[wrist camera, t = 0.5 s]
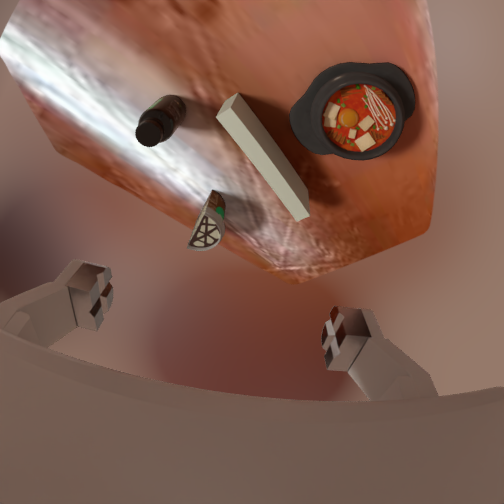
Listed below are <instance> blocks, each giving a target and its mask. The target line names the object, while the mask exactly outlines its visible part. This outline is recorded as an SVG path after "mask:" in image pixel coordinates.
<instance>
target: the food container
mask: <svg viewBox="0 0 504 504" xmlns="http://www.w3.org/2000/svg"><path fill="white" fill-rule="evenodd" d="M224 213H225V202H224V199H223V198H222V196H221V195H220V194H219V193H217V192H216V191H214V190H212V191H211V193H210V195H209V197H208V199H207V200H206V202H205V204H204V206H203V208H202V210H201V212H200V214H199V216H198V218H197V221H196V224H195V226H194V229H193V232H192V235H191V238H190V240H189V243H188V246H187V248H188V249H191V250H196V251H205V250H209V249H211V248H213V247H215V246H216V245H217V244H218V243H219V242H220V241H221V239H222V237H223V236H224V233H225V225H224V222H223V220H224Z"/></svg>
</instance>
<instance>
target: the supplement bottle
mask: <svg viewBox="0 0 504 504" xmlns="http://www.w3.org/2000/svg"><path fill="white" fill-rule="evenodd" d="M185 116H186V107H185V104H184V103H183V101H182V100H181V99H180V98H178V97H176V96H172V95H167V96H163V97H161V98H160V99H158V100H157V101H156V102H155V103H154V104H153V105H151V106H150V107H149V108H148V109H147V110H146V111H145V112H144V113H143V114H142V115H141V117H140V119H139V123H138V127H137V128H136V132H135V133H136V134H135V135H136V138H137V140H138V142H140V144H142V145H144V146H147V147H153V146H155V145H157V144H158V143H161V142H164V141H166V140H168V139H169V138H170V137H171V136H172V134H173V133H174V132H175V131H176V129H177V128H178V127H179V125H180V124H181V123H182V121H183V120H184V118H185Z"/></svg>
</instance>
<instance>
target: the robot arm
mask: <svg viewBox="0 0 504 504" xmlns="http://www.w3.org/2000/svg"><path fill="white" fill-rule="evenodd" d="M111 278H112V275H111V269H110V268H109V267H107V266H102V265H98V264H94V263H90V262H85V261H81V260H77V259H74V260H72V261H71V262H70V264H69V265H68V266H67V267H66V268H65V269H64V270H63V272H62V273H61V274H60V275H59V276H58V277H57V278H56V280H55V281H54V282H53V283H52V282H48V283H46V284H43V285H41V286H39V287H36V288H34V289H31V290H29V291H27V292H24V293H22V294H20V295H17V296H15V297H13V298H10V299H8V300H6V301H4V302H2V303H0V504H504V387H493V388H488V389H483V390H478V391H472V392H467V393H460V394H453V395H445V396H438V393H437V391H436V388H435V386H434V384H433V381H432V379H431V377H430V374H428V373H427V372H426V371H425V370H424V369H423V368H422V367H420V366H419V365H418V364H417V363H416V362H415V361H413V360H412V359H411V358H410V357H409V356H407V355H406V354H405V353H404V352H403V351H402V350H400V349H399V348H398V347H397V346H396V345H394V344H393V343H392V342H391V341H390V340H389V339H385V338H384V336H383V334H382V331H381V329H380V326H379V324H378V322H377V319H376V317H375V315H374V313H373V311H372V310H371V309H362V308H361V309H360V308H359V309H357V308H348V307H341V306H334V307H333V308H332V309H331V312H330V318H331V319H330V320H329V321H328V322H326V323H325V325H324V327H323V330H322V336H321V342H322V347H323V348H324V349H325V350H326V351H327V352H326V354H325V355H324V358H325V362H326V367H327V370H338V371H348V374H349V375H350V376H351V377H352V378H353V380H354V381H355V382H356V383H357V385H358V386H359V387H360V388H361V390H362V391H363V392H364V393H365V395H366V396H367V397H368V398H369V400H370V401H358V402H336V401H305V400H288V399H274V398H264V397H254V396H246V395H237V394H229V393H223V392H216V391H209V390H203V389H197V388H192V387H186V386H181V385H176V384H171V383H166V382H161V381H157V380H152V379H148V378H143V377H140V376H135V375H131V374H128V373H124V372H120V371H117V370H113V369H109V368H106V367H102V366H99V365H95V364H93V363H89V362H86V361H83V360H80V359H77V358H74V357H71V356H68V355H65V354H62V353H59V352H57V351H54V350H51V349H48V347H49V346H51V345H52V344H54V343H55V342H57V341H58V340H60V339H61V338H62V337H64V336H65V335H67V334H68V333H70V332H71V331H73V330H74V329H76V328H77V326H78V327H82V328H85V329H89V330H94V331H98V328H99V327H100V325H101V323H102V322H103V320H104V318H103V313H106V312H108V311H109V308H110V307H111V304H112V300H113V287H112V285H111V284H110V282H109V280H110V279H111Z"/></svg>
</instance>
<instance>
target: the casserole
mask: <svg viewBox="0 0 504 504" xmlns="http://www.w3.org/2000/svg"><path fill="white" fill-rule="evenodd" d="M414 109H415V94H414V91H413V87H412V85H411V83H410V81H409V79H408V77H407V76H406V75H405V74H404V72H403V71H402V70H401V69H400V68H398V67H397V66H396V65H394V64H391V63H388V62H387V63H372V64H367V63H355V62H347V63H340V64H337V65H334V66H332V67H329V68H328V69H326V70H324V71H323V72H321V73H320V74H319V75H318V76H317V77H316V78H315V79H314V80H313V82H312V83H311V85H310V86H309V88H308V89H307V91H306V93H305V94H304V95H303V96H302V97H301V98H300V99H299V100H298V101H297V102H296V103H295V104H294V106H293V107H292V108H291V111H290V114H289V117H290V124H291V127H292V130H293V132H294V134H295V136H296V138H297V139H298V140H299V141H300V143H301V144H302V145H303V146H304V147H306V148H307V149H308V150H309V151H311V152H313V153H315V154H320V155H326V154H335V155H337V156H340V157H343V158H346V159H351V160H369V159H373V158H376V157H379V156H381V155H383V154H384V153H386V152H387V151H389V150H390V149H391V148H392V147H393V146H394V145H395V143H396V142H397V140H398V139H399V137H400V135H401V133H402V130H403V127H404V122H405V121H406V120H407V119H408V118H409V117H410V116H411V115H412V113H413V111H414Z"/></svg>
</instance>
